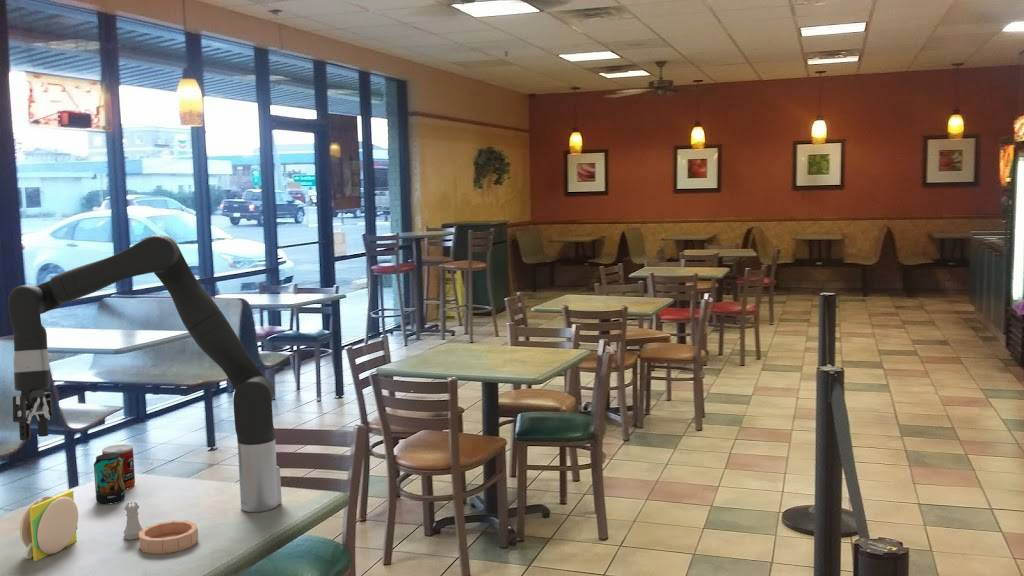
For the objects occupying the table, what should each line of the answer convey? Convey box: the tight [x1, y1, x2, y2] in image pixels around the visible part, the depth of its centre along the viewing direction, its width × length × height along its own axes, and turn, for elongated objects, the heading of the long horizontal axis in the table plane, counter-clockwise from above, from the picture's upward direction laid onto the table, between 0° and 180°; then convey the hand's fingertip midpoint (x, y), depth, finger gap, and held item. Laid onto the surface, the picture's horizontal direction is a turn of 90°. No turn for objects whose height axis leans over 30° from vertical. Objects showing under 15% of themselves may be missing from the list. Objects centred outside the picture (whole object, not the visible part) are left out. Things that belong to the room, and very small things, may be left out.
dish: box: [138, 520, 199, 555], centre depth 210 cm, size 12×12×3 cm
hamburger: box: [19, 489, 79, 562], centre depth 207 cm, size 12×8×12 cm
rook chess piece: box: [122, 501, 144, 541], centre depth 214 cm, size 4×4×8 cm
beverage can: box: [93, 453, 126, 505], centre depth 241 cm, size 7×7×12 cm
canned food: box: [101, 443, 136, 490], centre depth 253 cm, size 8×8×11 cm
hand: (34, 438), depth 218 cm, fingers open, 8 cm apart
